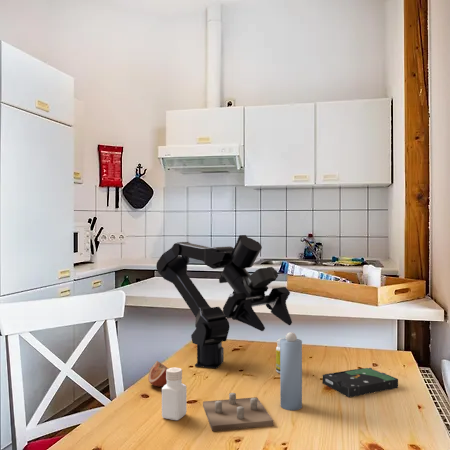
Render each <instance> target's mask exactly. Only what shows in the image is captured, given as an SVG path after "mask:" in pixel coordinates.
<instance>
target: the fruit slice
mask: <svg viewBox="0 0 450 450" xmlns="http://www.w3.org/2000/svg"><path fill="white" fill-rule="evenodd" d="M169 368H170V367H169ZM169 368H168V367H167V366H166V365H164V364H162V363H161V362H160V361H158V360H156V361H155V363H154V364H153V365H152V366H151V367H150V370H149V373H148V377H147V379H148V382H149V384H150V385H152V386H154V387H158V388H159V387H160V388H162V387H164V386H165V385H166V384H167V380H166V370H167V369H169Z"/></svg>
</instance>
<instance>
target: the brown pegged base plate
mask: <svg viewBox="0 0 450 450" xmlns="http://www.w3.org/2000/svg"><path fill="white" fill-rule="evenodd" d="M228 397H229V398H228V399H218V400H217V399H216V400H204V401H202V408H203V409H204V413H205V415H206V418H207V420H208V424H209V426H210V429H211V431H212V432H217V431H219V432H220V431H228V430H229V431H230V430H241V429H249V428H252V429H253V428H260V427H270V426H271V427H272V426H273V427H274V419H273V418H272V416H271V415H270V414H269V412H268V411H267V409H266V408H265V406H264V405H263V403H262V402H261V401H260V399H259V397H257V396H254V397H243V398H242V397H241V398H237V394H236V392H230V393H229V394H228Z"/></svg>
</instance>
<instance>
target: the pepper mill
mask: <svg viewBox="0 0 450 450" xmlns="http://www.w3.org/2000/svg"><path fill="white" fill-rule="evenodd" d="M283 338H284V339H281V340H280V373H279V374H280V375H279V381H280V382H279V383H280V385H279V386H280V388H279V390H280V392H279V393H280V395H279V398H280V402H279V403H280V404H279V406H280V407H281V409H283V410H287V411H299V410H301V409H302V408H303V340H302V339H300V338H298V337H297V335H296V333H294V332H293V331H292V332H291V331H289V332H287V333H286V334H285V337H283Z"/></svg>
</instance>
